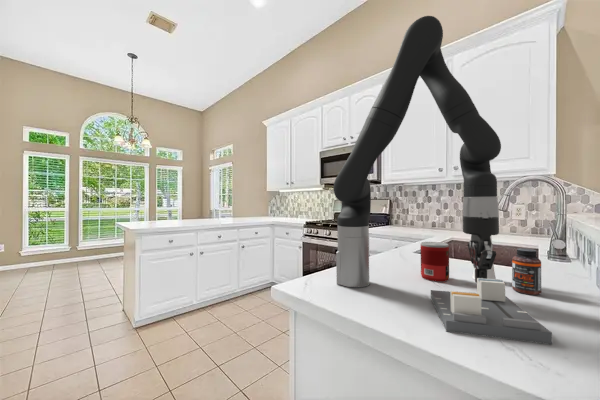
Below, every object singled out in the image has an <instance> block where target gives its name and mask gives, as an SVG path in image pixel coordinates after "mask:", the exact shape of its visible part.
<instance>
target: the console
mask: <svg viewBox="0 0 600 400" xmlns="http://www.w3.org/2000/svg"><path fill="white" fill-rule="evenodd" d="M430 300H431V301H432V304H433V306H434V308H435V309H436V313H437V314H438V316H439V318H440V321H441V323H442V325H443V327H444V329H445V331H446V332H448V333H457V334H464V335H472V336H473V335H474V336H482V337H487V338H488V337H490V338H497V339H505V340H506V339H507V340H514V341H521V342H529V343H536V342H537V344H547V345H553V333H552V331H551V330H549V329H548V328H547V327H546V326H544V325H543V324H541V323H540V322H539V321H538V320H537V319H535V318H534V317H533V316H531V314H529V312H527V311H525V310H524V309H523V308H522V307H520V306H519V305H517V303H515V302H514V301H513V300H511V299H510V298H509V297H508V296H506V295H505V302H504V301H493V300H482V299H481V315H473V314H464V313H454V312H453V314H452V312H451V299H450V291H448V290H447V291H446V290H436V289H435V290H434V289H430Z"/></svg>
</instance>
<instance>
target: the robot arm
mask: <svg viewBox="0 0 600 400" xmlns="http://www.w3.org/2000/svg"><path fill="white" fill-rule="evenodd" d="M403 35H404V36H403V37H402V41H401V43H400V44H401V45H400V47H399V48H398V49H399V50H398V53H397V55H396V57H395V60H394V63H393V65H392V68H391V70H390V72H389V74H388V76H387V78H386V79H385V81H384V82H383V85H382V87H381V89H380V90H379V93H378V94H377V96H376V99H375V100H374V102H373V104H372V107H371V108H370V111H369V112H368V114H367V117H366V119H365V122H364V124H363V126H362V128H361V131H360V132H359V134H358V136H357V138H356V141H355V144H354V146H353V148H352V151H351V152H350V155H348V157H347V160H346V161H345V162H344V164H343V166H342V168H341V169H340V171H339V172H338V174H337V175H336V177H335V180H334V182H333V188H332V189H333V193H334V196H335V198H336V199H337V200H338V201H340V202H341V209H340V213H339V214H338V216H337V220H336V221H337V251H336V253H335V255H336V256H335V257H336V258H335V259H336V265H335V266H336V268H335V269H336V285H341V286H344V287H348V288H362V287H363V288H364V287H365V288H366V287H367V286H369V285H370V237H369V236H370V233H369V232H370V231H369V230H370V229H369V228H370V227H369V226H370V224H369V223H370V222H369V221H370V217H371V210H372V209H371V208H372V207H371V206H372V205H371V203H372V201H371V200H372V199H371V198H372V196H371V195H372V192H371V191H372V190H371V189H372V188H371V183H370V180H369V179H368V176H369V175H370V172H371V169H372V167H373V166H374V164H375V162H376V161H377V159H378V158H379V156H380V155H381V154H382V153H383V152H384V151H385V150H386V149H387V147H389V144H391V142H392V141H393V140H394V138H395V137H396V134H397V132H398V131H399V129H400V127H401V125H402V123H403V121H404V120H405V116H406V115H407V112H408V110H409V108H410V107H409V106H410V104H411V101H412V98H413V96H414V92H415V88H416V86H417V83H418V80H419V79H420V78H421V79H422V81H423V82H424V84H425V86H426V87H427V88H428V90H429V92H430V94H431V95H432V98H433V99H434V101H435V104H436V105H437V107H438V110H439V111H440V113H441V116H442V117H443V119H444V120H445V123H446V125H447V127H448V128H449V130H450V131H451V133H453V134H458V136H459V137H460V139H461V141H463V144H462V145H461V147H460V151H459V163H460V168H461V169H460V170H461V174H462V178H463V187H462V189H463V200H462V201H463V202H462V232H463V233H464V234H466V235H471V237H470V240H469V242H467V248H468V253H469V257H470V263H471V264H472V266H473V269H474V268H475V280H474V282H475V284H477V278H484V279H487V270H488V269H491V268H492V265H494V262H495V260H496V256H497V251H496V250H493V249H494V247H493V242H491V239H492V236H498V235H499V234H500V216H499V215H500V213H499V212H500V211H499V209H500V207H499V201H498V180H497V177H496V175H495V174H494V173H492V170H491V163H490V162H491V161H493V160H494V159H496V158H497V157H498V156H499V155H500V153H501V149H502V143H501V139H500V136H499V135H498V134H497V132H496V130H494V129H493V127H492V126H491V125H490V124H489V123H488V121H486V120H485V119H484V117H483V116H481V115H480V112H479V110H478V109H477V107H476V105H475V103H474V102H473V100H472V98H471V96H470V94H469V93H468V92H467V90H466V89H465V87H464V86H463V85H462V84H461V83H460V82H459V80H457V78H455V76H454V75H453V73H451V71H450V69H449V68H448V66H447V64H446V61H445V58H444V56H443V52H442V42H443V39H444V30H443V26H442V22H441V21H440V20H439V19H438V18H437V17H435V16H434V15H424V16H421V17H419V18H418V19H416V20H415V21H414V22H412V23H411V24H410V25H409V27H408V28H407V30H406V31H405V33H404V34H403ZM490 236H491V238H490ZM491 250H492V251H491Z"/></svg>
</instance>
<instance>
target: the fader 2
mask: <svg viewBox="0 0 600 400" xmlns="http://www.w3.org/2000/svg"><path fill="white" fill-rule="evenodd" d="M476 294H479V297H480V298H481V299H482V300H493V301H504V302H505V296H506V283H505V282H504V280H502V279H497V278H496V279H484V278H477V283H476Z"/></svg>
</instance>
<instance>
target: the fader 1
mask: <svg viewBox="0 0 600 400" xmlns="http://www.w3.org/2000/svg"><path fill="white" fill-rule="evenodd" d="M449 292H450V299H451V312H452V314H453V312H454V313H464V314H473V315H481V298H480V297H479V294H477V292H470V291H469V292H468V291H457V290H450V291H449Z"/></svg>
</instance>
